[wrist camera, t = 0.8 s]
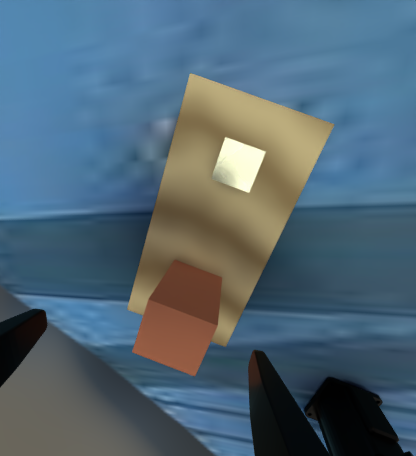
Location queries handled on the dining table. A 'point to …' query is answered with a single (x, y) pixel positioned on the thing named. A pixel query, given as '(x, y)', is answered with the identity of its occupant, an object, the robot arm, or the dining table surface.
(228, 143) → the steel block
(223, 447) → the dining table surface
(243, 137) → the brass board
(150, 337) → the reddish brown block
